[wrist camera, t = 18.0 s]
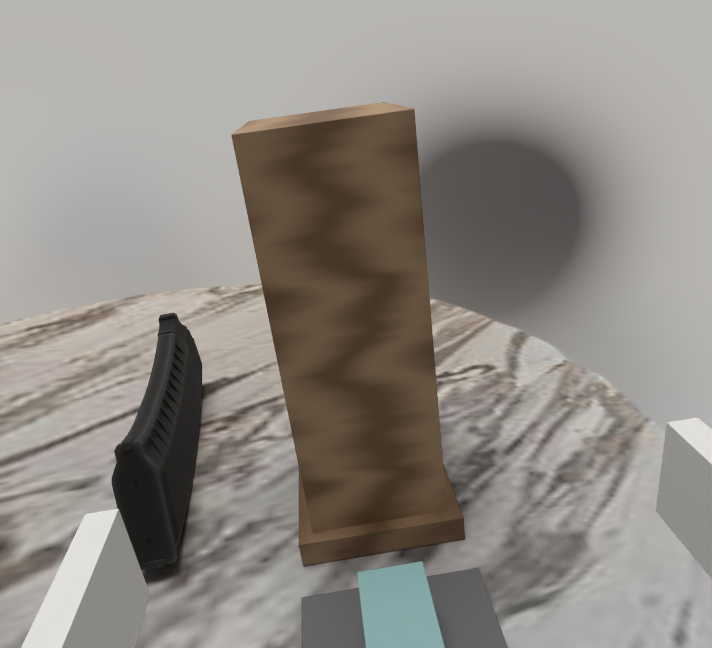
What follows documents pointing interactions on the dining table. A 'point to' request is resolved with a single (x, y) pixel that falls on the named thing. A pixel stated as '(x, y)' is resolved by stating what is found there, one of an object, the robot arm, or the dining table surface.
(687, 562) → the dining table surface
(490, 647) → the pad
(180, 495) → the magazine
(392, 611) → the teal square bar
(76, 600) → the robot arm
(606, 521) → the dining table surface
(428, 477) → the stand
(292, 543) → the dining table surface
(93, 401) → the dining table surface
